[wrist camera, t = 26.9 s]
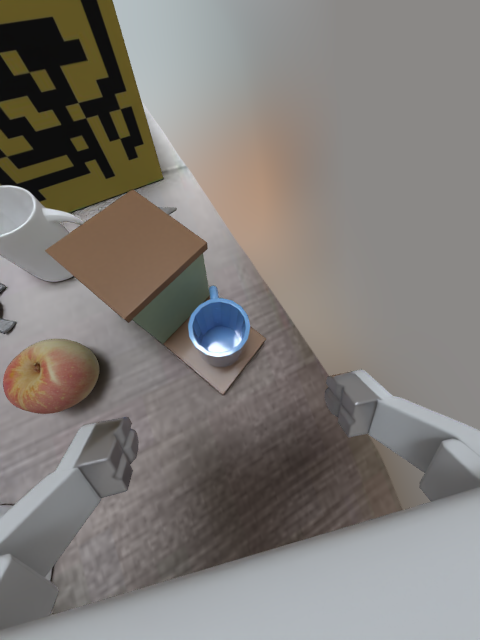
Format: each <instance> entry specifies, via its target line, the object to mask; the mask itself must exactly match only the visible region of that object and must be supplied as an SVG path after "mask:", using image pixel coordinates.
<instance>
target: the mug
mask: <svg viewBox="0 0 480 640" xmlns="http://www.w3.org/2000/svg"><path fill="white" fill-rule="evenodd" d="M64 221H69V222H76V223H79V224H81V225H82V224H83V223H85V222H84V221H83V220H81V219H80V218H78V217H76V216H74V215H72V214H70V213H67V212H63V211H59V210H54V209H48V208H45V207H44V206H43V205H42V204H41V203H40V202H39V201H38V200H37V199H36V198H35V197H34V196H33V195H32V194H31V193H30V192H29V191H28V190H26V189H24V188H21V187H18V186H11V185H3V186H0V255H1V256H3V257H4V258H6V259H8V260H9V261H11V262H12V263H14V264H16V265H17V266H19V267H21V268H22V269H24V270H25V271H27V272H29V273H30V274H32V275H34V276H35V277H37V278H39V279H42V280H45V281H51V282H57V281H63V280H66V279H68V278H70V277H72V276H73V275H72V274H71V273H70V272H69V271H67V270H66V269H65V268H64V267H63V266H62V265H60V264H59V263H58V262H57V261H56V260H55V259H53V258H52V257H51V256H50V255H49V254H48V253H47V252H45V250H46V249H48V248H49V247H51V246H52V245H53V244H55V243H56V242H58V241H59V240H61V239H62V238H63V237H65V236H66V235H68V234H69V232H68V231H67V230H66V229H65V228H64V227H63V226H62V225H61V224H60V223H59V222H64Z"/></svg>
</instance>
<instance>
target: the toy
mask: <svg viewBox="0 0 480 640" xmlns="http://www.w3.org/2000/svg"><path fill="white" fill-rule="evenodd" d="M5 288H7V287H6V286H4V285H2V284H0V291H2V290H3V289H5ZM15 323H16V322H15V321H10V320H5V319H0V332H1V333H3V334H5V333H6V332H8V331H9V330H10V329H12V327H13V326H14V325H15Z"/></svg>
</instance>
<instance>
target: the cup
mask: <svg viewBox="0 0 480 640" xmlns="http://www.w3.org/2000/svg"><path fill="white" fill-rule="evenodd" d="M209 293H210V300H208V301H206V302H204V303H202V304H200V305H199V306H198V307H197V308H196V309H195V310H194V312H193V313H192V314H191V317H190V320H189V323H188V330H189V337H190V339H191V341H192V343H193V344H194V346H195V348H196V349H197V351H198V352H199V354H200V355H201V357H202V358H203V360H204V361H205V362H207V363H208V364H209V365H211V366H214V367H227V366H230V365H232V364H233V363H235V362H236V361H237V360H238V358H239V357H240V355H241V354H242V352H243V349H244V347H245V344H246V342H247V340H248V336H249V331H250V323H249V319H248V315H247V314H246V313H245V311H244V310H243V308H242V307H241V306H240V305H238V304H236V303H235V302H233V301H232V300H227V299H223V298H219V296H218V290H217V287H216V286H211V287H210V288H209Z"/></svg>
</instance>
